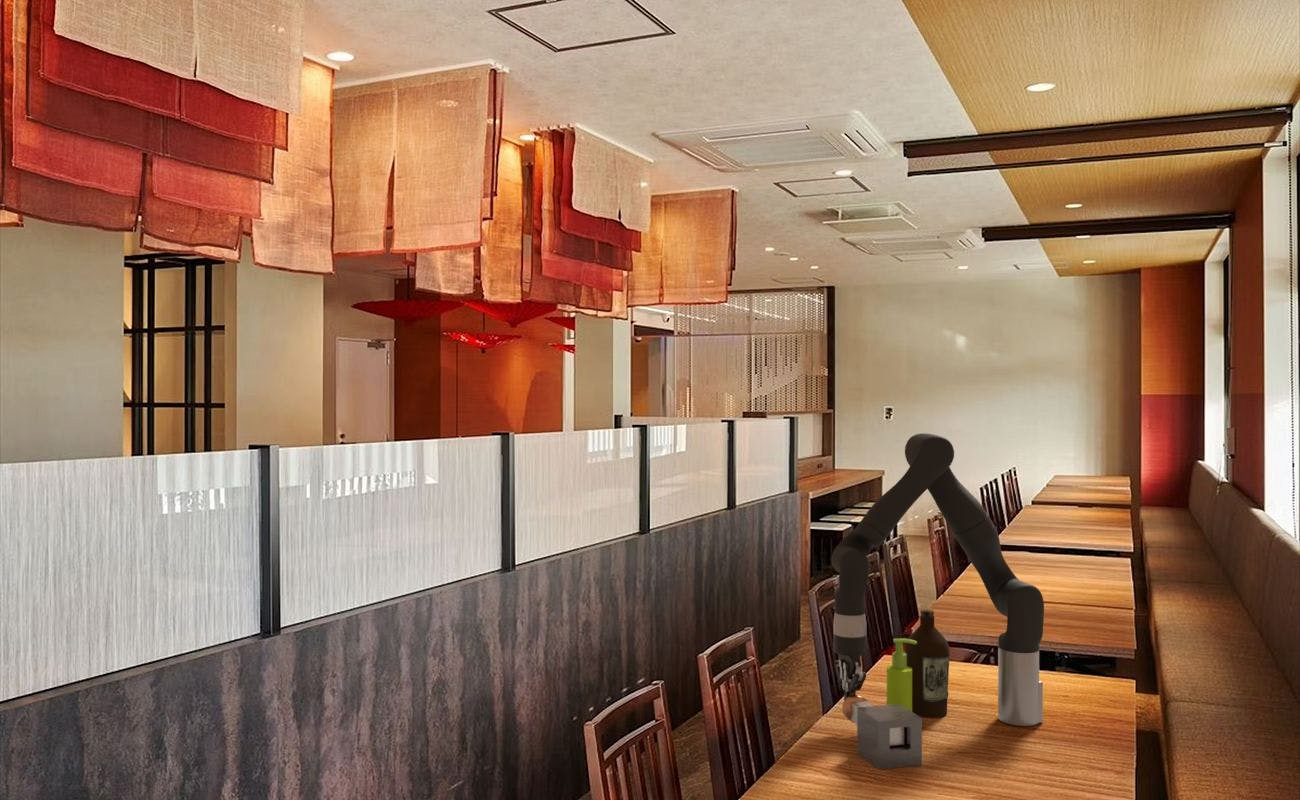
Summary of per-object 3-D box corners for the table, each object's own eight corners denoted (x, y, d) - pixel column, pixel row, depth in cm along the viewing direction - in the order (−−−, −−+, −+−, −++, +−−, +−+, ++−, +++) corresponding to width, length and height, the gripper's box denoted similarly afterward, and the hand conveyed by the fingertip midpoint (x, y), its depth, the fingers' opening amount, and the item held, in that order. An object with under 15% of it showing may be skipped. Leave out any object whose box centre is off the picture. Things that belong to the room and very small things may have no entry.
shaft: (866, 719, 240) (866, 693, 240) (908, 748, 220) (908, 720, 220) (842, 721, 238) (842, 695, 238) (882, 751, 219) (882, 722, 219)
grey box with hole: (899, 749, 229) (899, 703, 228) (921, 765, 219) (921, 717, 219) (857, 753, 226) (857, 707, 226) (878, 769, 216) (878, 721, 216)
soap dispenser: (917, 728, 243) (917, 642, 243) (886, 726, 244) (887, 641, 244) (916, 720, 248) (916, 636, 248) (886, 718, 250) (886, 635, 250)
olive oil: (896, 708, 258) (896, 607, 258) (934, 704, 261) (934, 604, 261) (919, 721, 248) (919, 616, 248) (958, 716, 251) (958, 613, 251)
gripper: (877, 637, 236) (877, 714, 236) (852, 624, 249) (852, 697, 249) (846, 639, 234) (846, 716, 234) (823, 626, 247) (823, 699, 247)
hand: (849, 706), depth 242 cm, fingers closed
